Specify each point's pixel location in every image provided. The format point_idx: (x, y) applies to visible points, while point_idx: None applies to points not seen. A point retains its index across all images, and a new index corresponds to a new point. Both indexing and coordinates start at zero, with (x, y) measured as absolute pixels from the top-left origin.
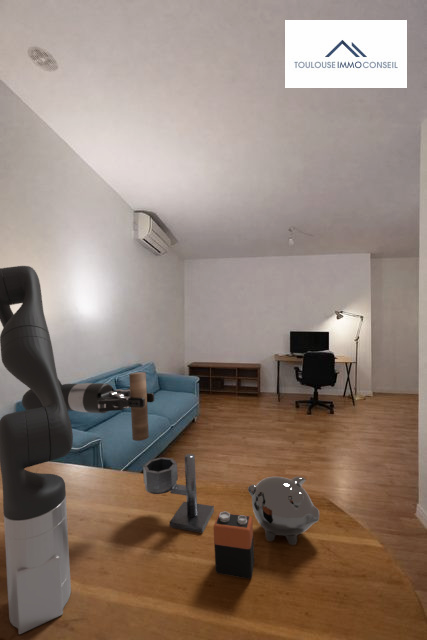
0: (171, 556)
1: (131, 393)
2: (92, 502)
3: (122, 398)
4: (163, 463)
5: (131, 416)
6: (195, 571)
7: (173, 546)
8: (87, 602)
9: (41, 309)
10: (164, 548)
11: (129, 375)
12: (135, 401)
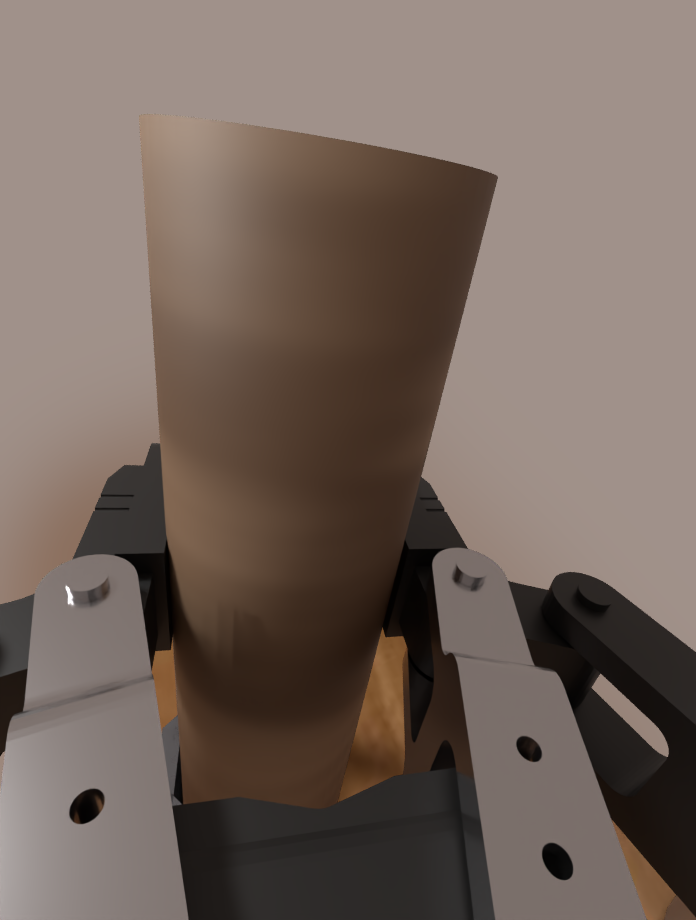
0: (398, 714)
1: (412, 506)
2: None
3: (516, 636)
4: (176, 794)
5: (344, 751)
6: (403, 646)
7: (369, 727)
8: (623, 835)
9: None
10: (387, 748)
11: (482, 189)
12: (437, 505)
